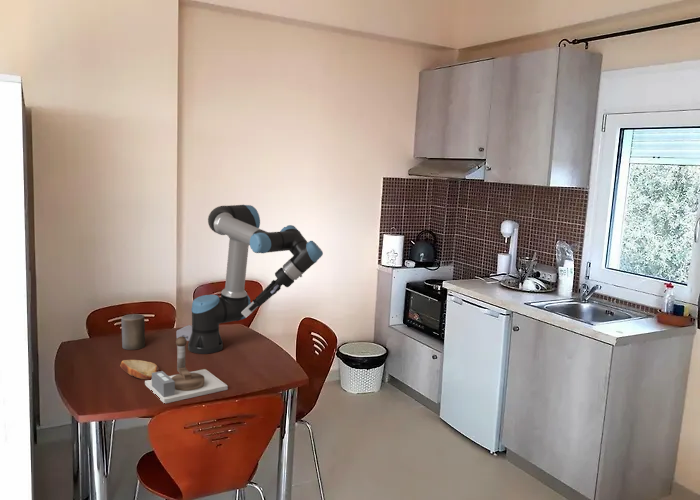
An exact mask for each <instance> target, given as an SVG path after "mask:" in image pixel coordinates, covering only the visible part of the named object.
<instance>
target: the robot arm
mask: <svg viewBox="0 0 700 500" xmlns="http://www.w3.org/2000/svg"><path fill="white" fill-rule="evenodd" d="M260 218H261V217H260V214H259V212H258V210H257V209H256V208H255V207H254V206H253V205H251V204H237V205H235V204H234V205H232V204H231V205H219V206H216V207H215V208H213V209H211V211H210V213H209V215H208V218H207V223H208V226H209V229H210V230H211V231H213V232H214V233H215V234H217V235H220V236H227V237H228V238H229V240H228V241H229V242H228V251H227V253H228V254H227V264H226V265H227V266H226V274H225V275H226V276H225V285H224V288H223V289H222V290H221V293H220V297H219V295H217V294H205V295H204V294H203V295H200V296H197V297H196V298H194V299H193V300H192V304H191V325H192V334H191V337H190V340H189V341H188V343H187V349H188V351H189V352H191V353H194V354H202V355H203V354H205V355H207V354H213V353H217V352H221V351H222V350H223V348H224V343H223V340H222V336H221V333H220V324H226V323H230V322H238V321H242V320H244V319H246V318H247V317H249V316H250V315H251V314H252V313H253V312H254V311H256V309H258V308H259V307H261V306H262V305H263V304H264V303H266V302H267V301H268V300H269V299H270V298H272V297H273V296H274V295H275V294H277V292H279V291H280V290H281V289H282V288H281V287H282V286H284V287H285V288H289V287H291V285H293V284H294V283H295V281H296V280H298V279H299V278H303V274H305V272H306V271H308V269H310V268H311V267H312V266H313V265H315V264H316V263H317V262H318V260H319V259H321V258H322V257H323V254H324V253H323V250H322V249H321V248H320V247H319V246H318V245H317V243H315V241H313V240H309V241H308V240H307V239H306V238H305V237H304V235H303V234H302V233H301V231H300V230H299V229H298V228H297V227H296V226H295V225H292V224H289V225H286V226H284V227H282V229H280V231H272V232H270V231H269V232H268V231H266V230H264V229H261V228H260V225H261V219H260ZM249 246H250V249H251V250H252V252H253V253H256V254H267V253H275V252H277V253H278V252H284V251H285V252H286V251H289V252H290V253H291V254H292V256H291V258H289V259H288V260H287V261H286V262H285V263H284V264H283V265H282V267H280V268H279V269H277V270H276V272H274V276H275V278H276V279H273V280H271V282H270V283H269V285H267V287H266V288H265V289H263V290H262V292H260V293H259V294H258V295H257V296H256V297H255V298H254V299H252V300H251V298H250V296H249V294H248V292H247V291H246V290H245V287H246V285H245V284H246V275H247V274H246V273H247V266H248V255H249ZM251 301H252V302H251Z"/></svg>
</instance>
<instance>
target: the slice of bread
mask: <svg viewBox="0 0 700 500" xmlns="http://www.w3.org/2000/svg"><path fill="white" fill-rule="evenodd" d="M119 366H120V368H121V369H122V370H123V371H124V372H125V373H126V374H127V375H129V376H131V377H133V376H134V377H133V378H137V379H139V380H142V379H151V380H152V373H154V372H160V369H159V366H158V365H157V364H156V363H154V362H151V361H147V360H140V359H123V360H122V361H121V362H120V365H119Z"/></svg>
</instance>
